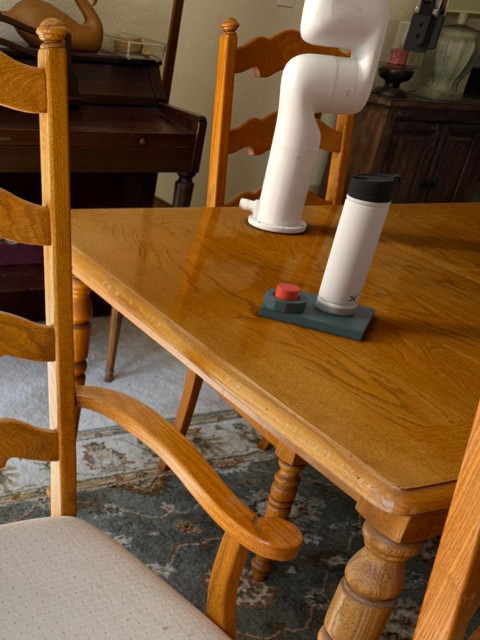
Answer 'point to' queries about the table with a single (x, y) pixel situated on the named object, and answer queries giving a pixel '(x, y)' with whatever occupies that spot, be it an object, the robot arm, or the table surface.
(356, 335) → the grey kitchen scale
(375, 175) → the travel mug
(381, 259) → the table surface
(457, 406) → the table surface
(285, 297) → the button
